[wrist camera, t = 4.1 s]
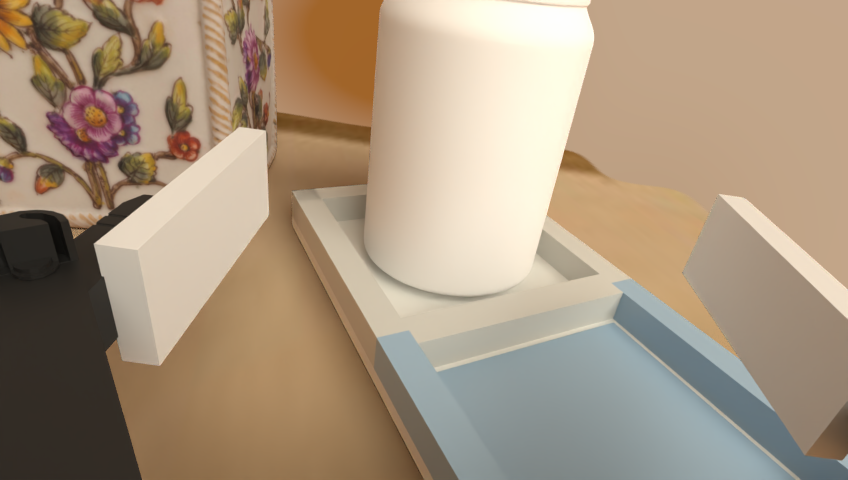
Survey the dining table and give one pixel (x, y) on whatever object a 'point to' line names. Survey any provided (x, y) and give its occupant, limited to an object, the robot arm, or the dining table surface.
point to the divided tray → (547, 369)
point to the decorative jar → (125, 96)
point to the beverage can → (469, 136)
